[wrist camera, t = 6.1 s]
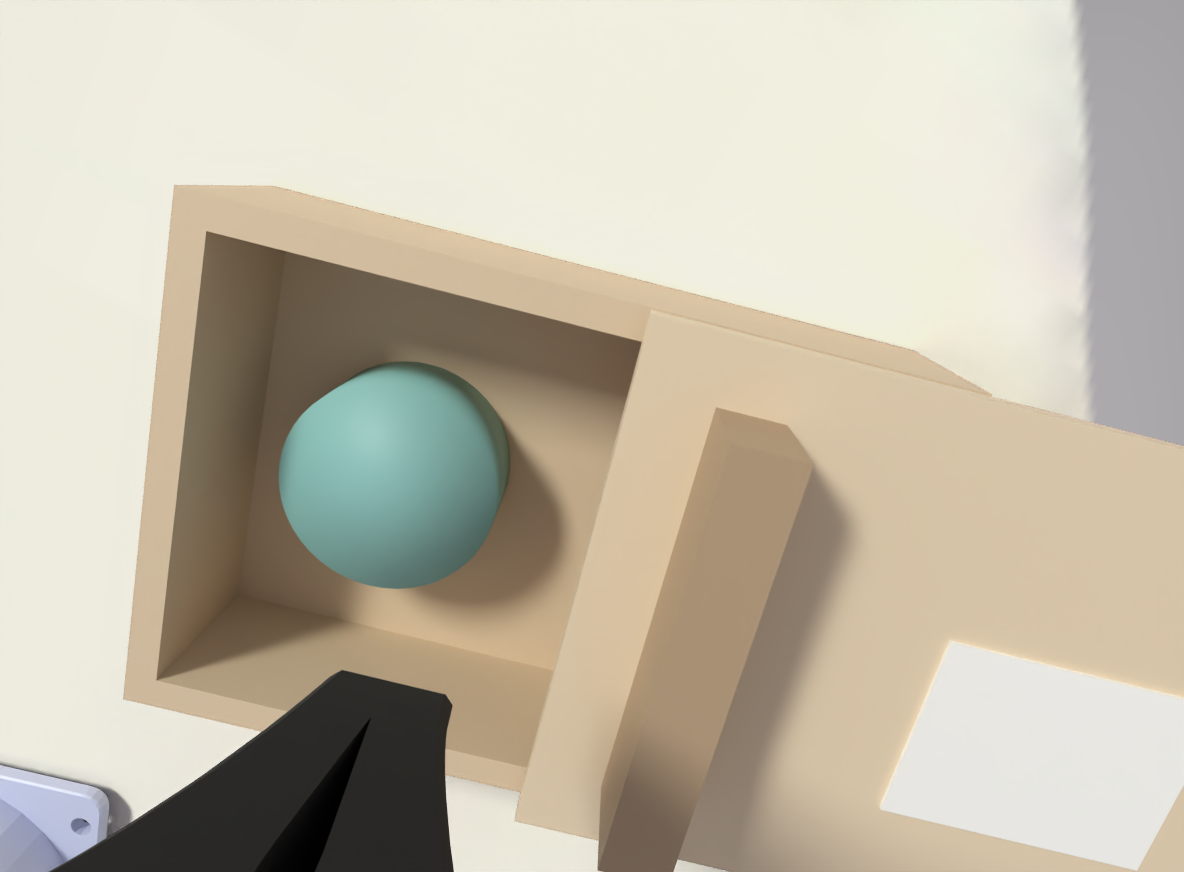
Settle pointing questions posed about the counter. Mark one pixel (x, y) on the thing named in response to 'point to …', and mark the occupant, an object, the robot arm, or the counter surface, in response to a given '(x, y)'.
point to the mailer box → (385, 460)
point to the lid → (866, 628)
